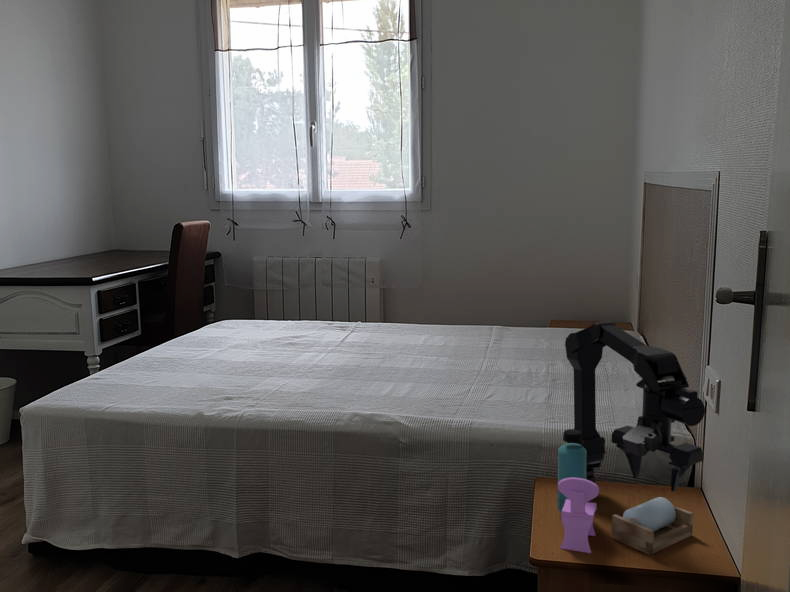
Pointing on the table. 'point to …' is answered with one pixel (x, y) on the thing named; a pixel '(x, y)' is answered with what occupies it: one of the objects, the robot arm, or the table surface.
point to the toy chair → (578, 512)
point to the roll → (652, 513)
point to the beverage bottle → (571, 460)
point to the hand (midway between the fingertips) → (654, 484)
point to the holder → (652, 532)
